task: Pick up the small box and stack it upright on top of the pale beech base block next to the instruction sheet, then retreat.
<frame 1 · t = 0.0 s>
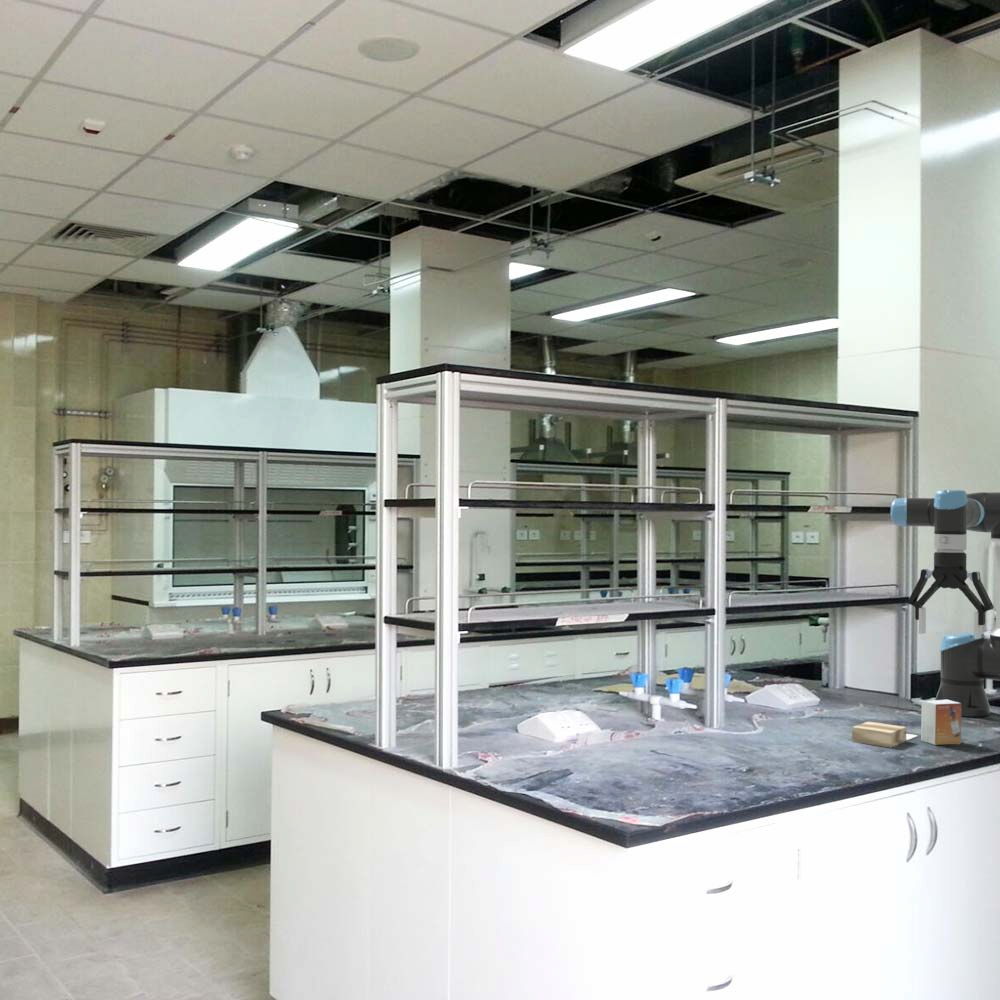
hand: (949, 635, 263), 28 cm above the table, fingers open, 13 cm apart
base block: (879, 742, 269), on the table
small box: (940, 743, 268), on the table
instruction sheet: (893, 735, 276), on the table
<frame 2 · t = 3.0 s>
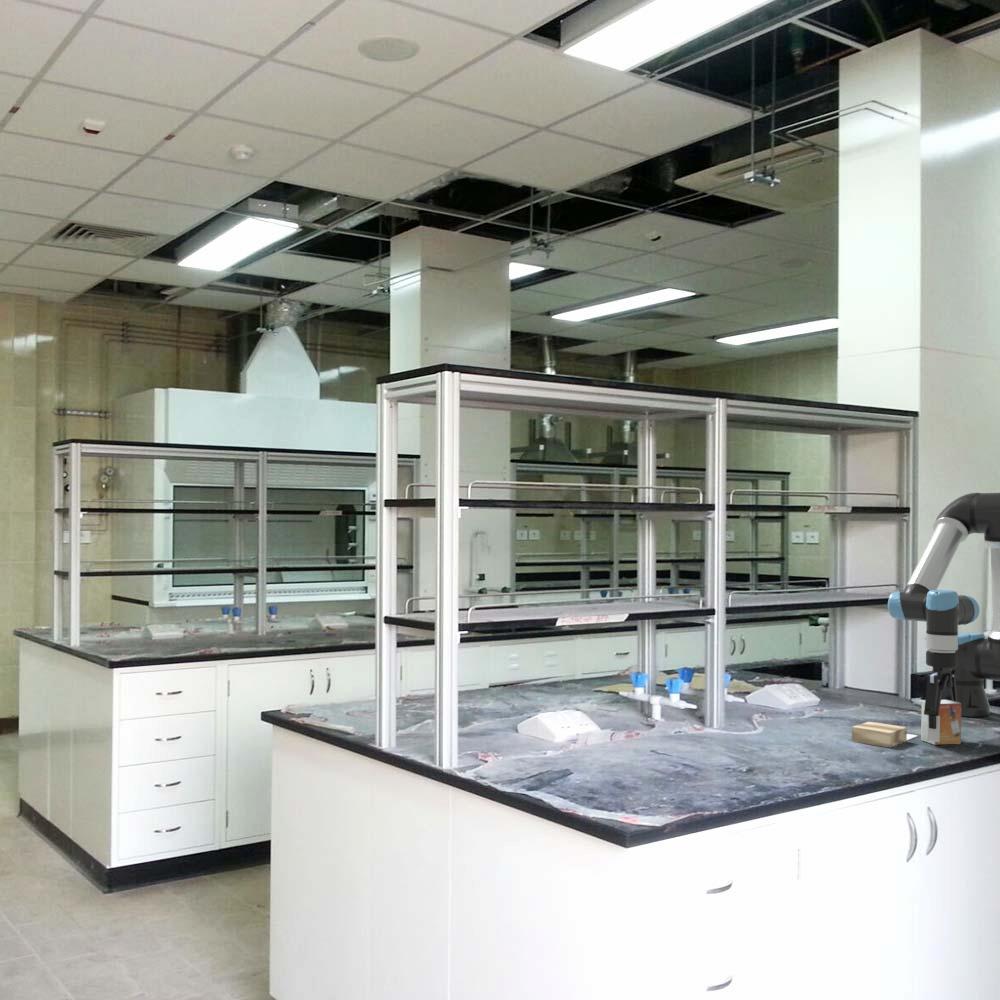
hand: (941, 737, 268), 1 cm above the table, fingers closed on small box, 9 cm apart
small box: (940, 743, 268), on the table, touching gripper
everything else where it was.
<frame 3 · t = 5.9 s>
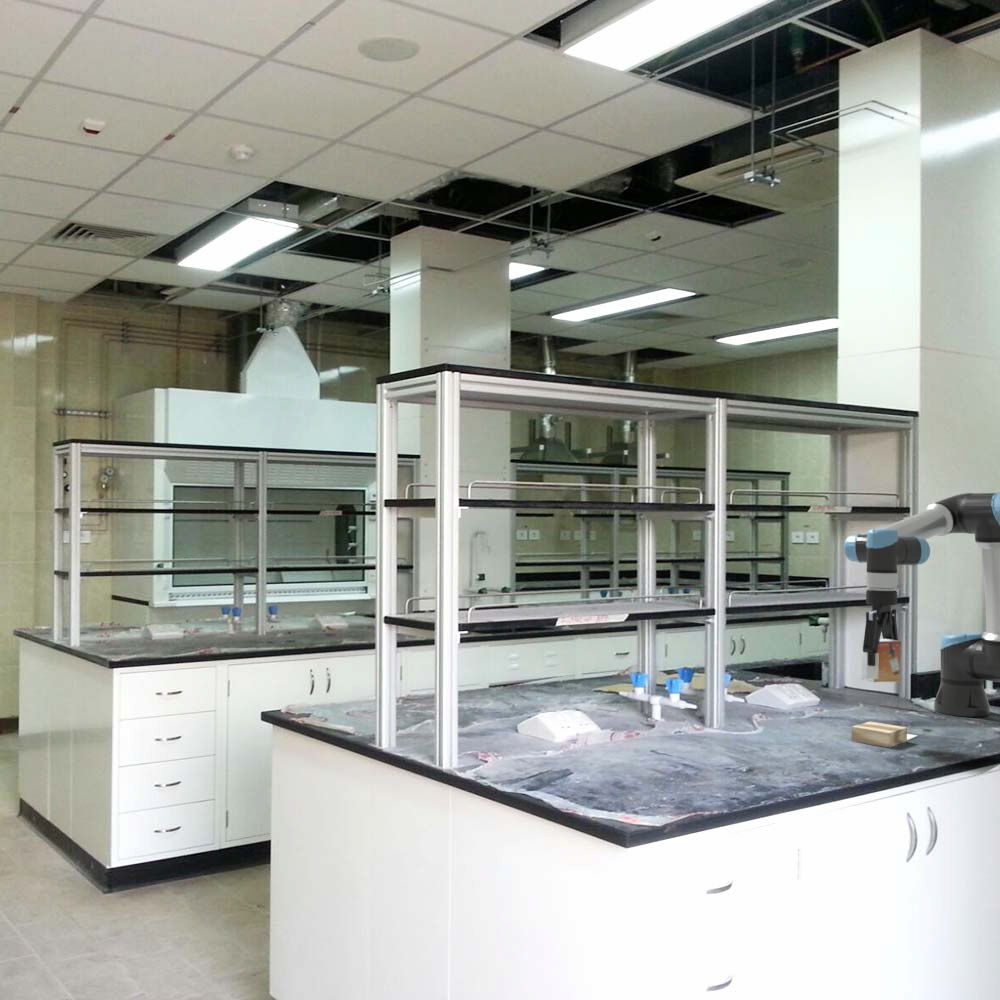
hand: (880, 676, 269), 17 cm above the table, fingers closed on small box, 9 cm apart
small box: (880, 681, 269), point 15 cm above the table, touching gripper
everything else where it was.
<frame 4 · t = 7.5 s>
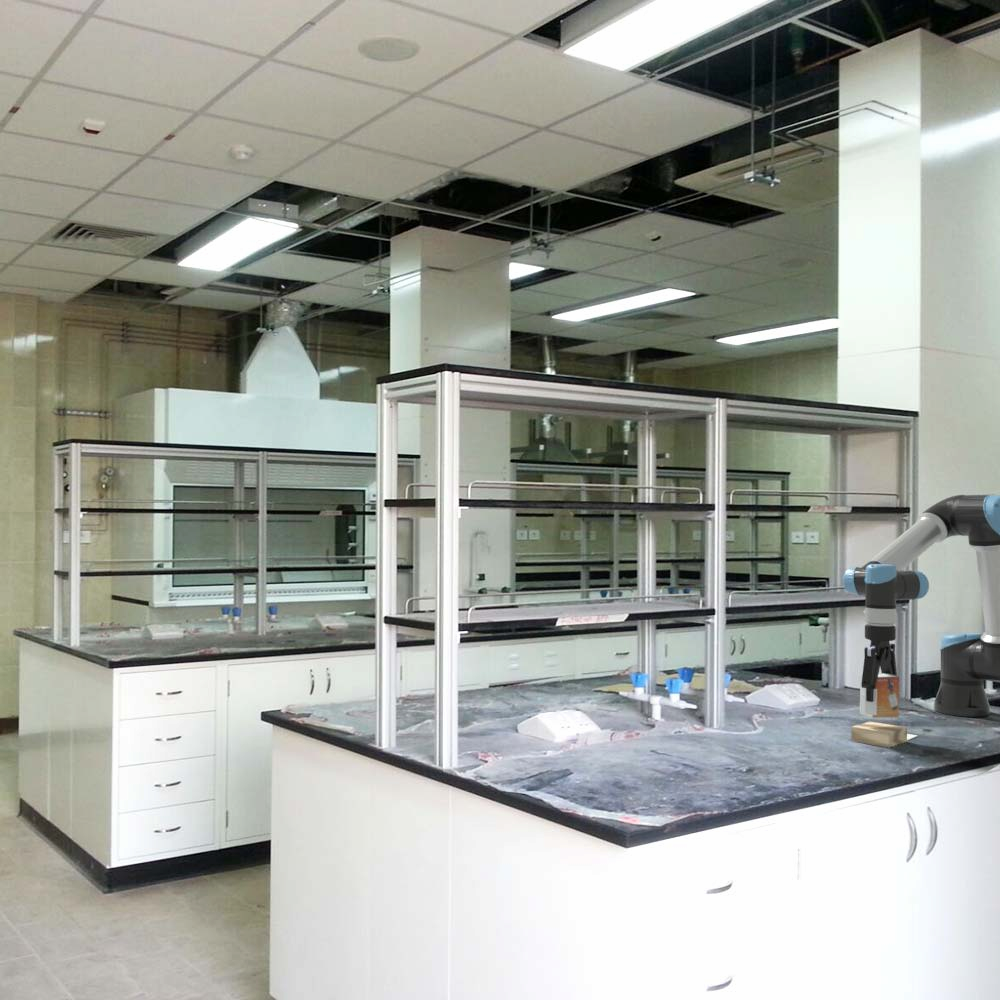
hand: (879, 711, 269), 8 cm above the table, fingers closed on small box, 9 cm apart
small box: (879, 716, 269), point 6 cm above the table, touching gripper
everything else where it was.
when the fingers open (7 cm above the table, at t = 8.7 s): small box drops 2 cm, resting on base block.
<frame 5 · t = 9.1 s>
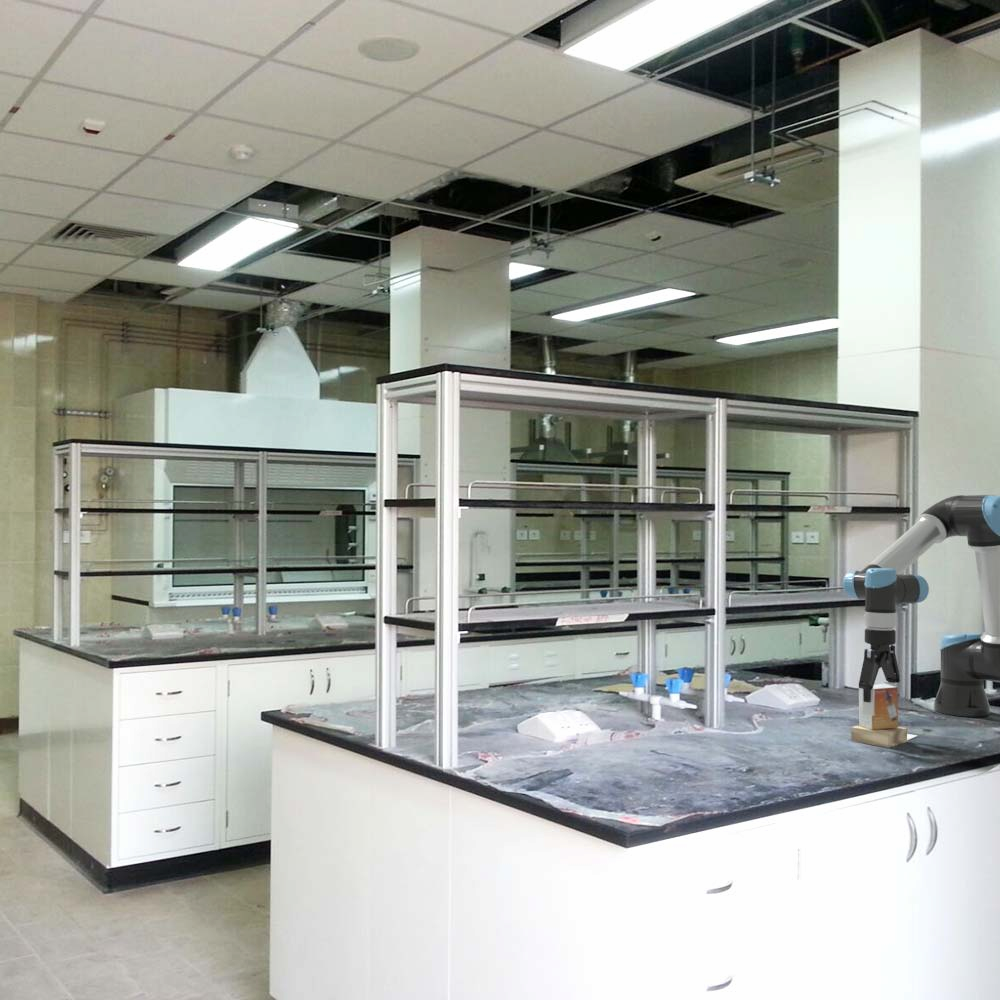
hand: (879, 711, 269), 8 cm above the table, fingers open, 13 cm apart
base block: (879, 743, 269), on the table, touching small box
small box: (878, 727, 269), point 3 cm above the table, touching base block
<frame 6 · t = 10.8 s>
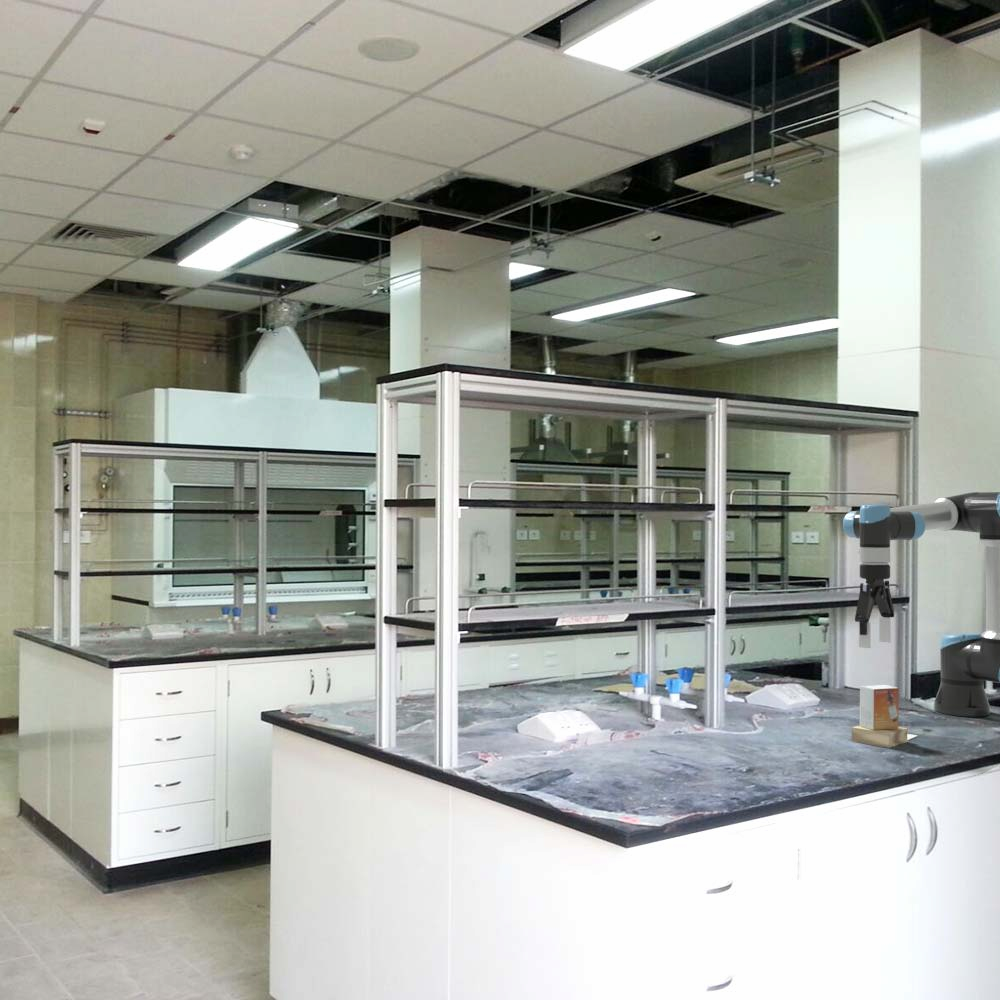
hand: (875, 644, 274), 24 cm above the table, fingers open, 13 cm apart
nothing on the table moved.
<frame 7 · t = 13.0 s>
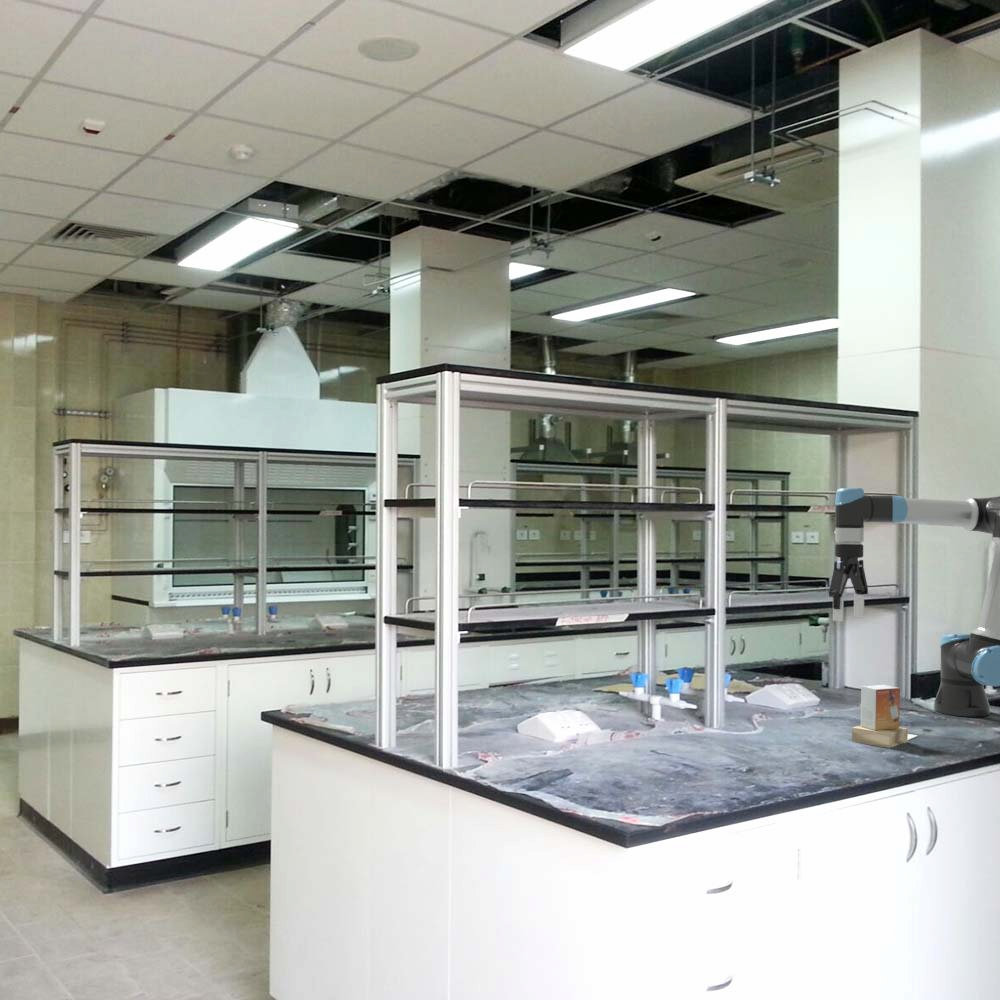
hand: (848, 619, 293), 29 cm above the table, fingers open, 13 cm apart
nothing on the table moved.
at the end: small box inside the target area on the base block (0.4 cm from its centre), point 3.8 cm above the base block's base; small box tilted 0°; the gripper is holding nothing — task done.
